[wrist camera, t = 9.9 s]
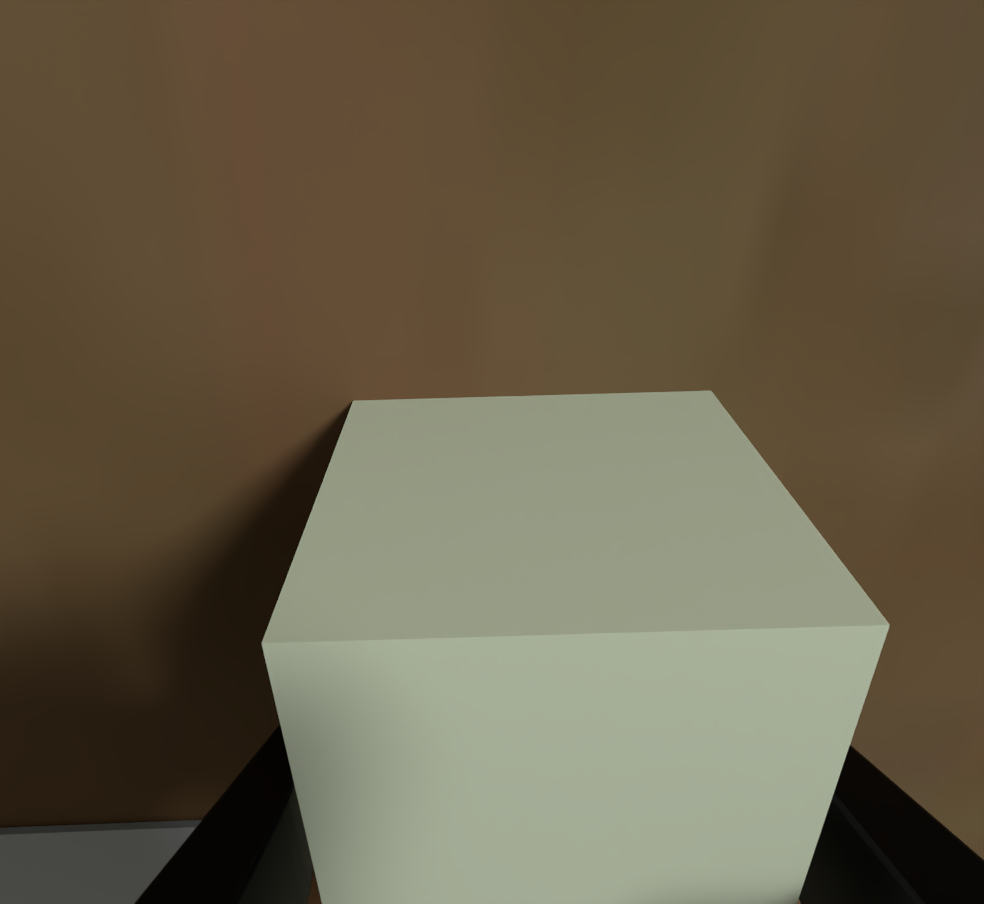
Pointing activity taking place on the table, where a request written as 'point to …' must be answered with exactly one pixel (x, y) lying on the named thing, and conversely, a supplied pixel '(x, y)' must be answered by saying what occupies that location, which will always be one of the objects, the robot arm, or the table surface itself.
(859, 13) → the table surface
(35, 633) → the table surface
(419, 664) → the sage block
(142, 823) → the tile
